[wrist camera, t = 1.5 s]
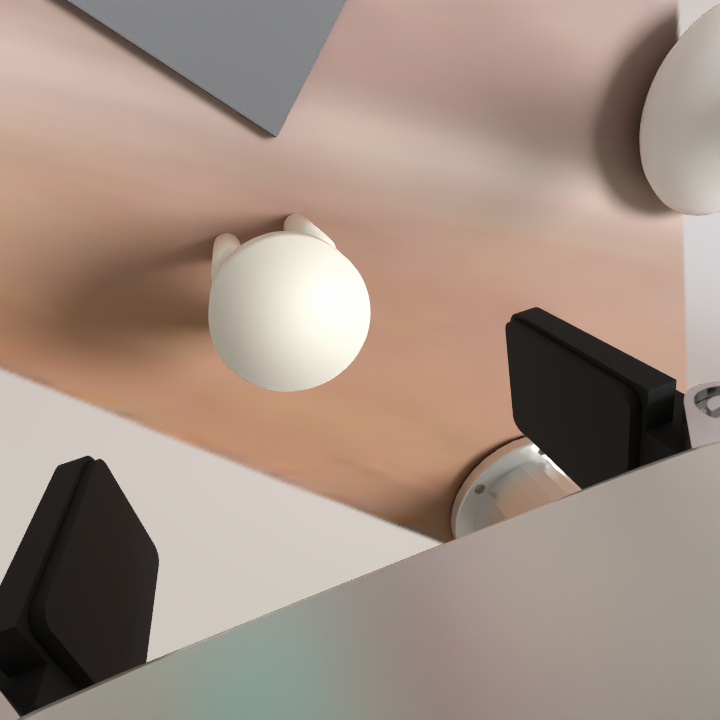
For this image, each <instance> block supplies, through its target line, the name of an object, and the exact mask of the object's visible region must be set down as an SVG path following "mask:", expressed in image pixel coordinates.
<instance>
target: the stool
mask: <svg viewBox="0 0 720 720" xmlns="http://www.w3.org/2000/svg"><path fill="white" fill-rule="evenodd" d="M283 229H284V231H277V232H271V233H266V234H263V235H260V236H257V237H255V238H253V239H251V240H249V241H247V242H245V243H244V244H242V245H241V244H240V241H239V239H238V238H237V237H236V236H235V235H233V234H230V233H223V234H220V235H219V236H217V237H216V239H215V241H214V245H213V257H212V269H211V282H212V287H211V291H210V299H209V310H208V324H209V330H210V335H211V338H212V341H213V344H214V346H215V348H216V350H217V352H218V354H219V355H220V357H221V358H222V360H223V361H224V362H225V364H226V365H227V366H228V367H229V368H230V369H231V370H232V371H233V372H234V373H236V374H237V375H238V376H239V377H241V378H242V379H244V380H245V381H247V382H249V383H251V384H253V385H255V386H258V387H261V388H264V389H269V390H273V391H283V392H289V391H300V390H306V389H310V388H313V387H316V386H319V385H321V384H324V383H325V382H327V381H329V380H331V379H333V378H334V377H336V376H337V375H338V374H340V373H341V372H342V371H343V370H344V369H346V368H347V367H348V366H349V364H350V363H351V362H352V361H353V360H354V359H355V357H356V356H357V354H358V353H359V351H360V349H361V347H362V346H363V344H364V341H365V339H366V336H367V333H368V329H369V324H370V301H369V296H368V292H367V289H366V286H365V284H364V282H363V279H362V277H361V276H360V274H359V273H358V271H357V269H356V268H355V267H354V266H353V265H352V263H351V262H350V261H349V260H348V259H347V258H346V257H345V256H343V255H342V254H341V253H340V252H339V251H338V250H337V249H336V247H335V245H334V243H333V241H332V240H331V239H330V238H329V237H327V236H326V235H325V234H324V233H323V232H322V231H320V230H319V229H318V228H317V227H316V226H315V225H314V224H312V223H311V222H310V221H309V220H308V219H307V218H305V217H304V216H303V215H301V214H291V215H289V216H288V217H287V218H286V219H285V221H284V224H283Z"/></svg>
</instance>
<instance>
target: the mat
mask: <svg viewBox="0 0 720 720" xmlns="http://www.w3.org/2000/svg"><path fill="white" fill-rule="evenodd" d="M67 1H68V2H70V3H71V4H73V5H74V6H76V7H77V8H79V9H80V10H82V11H83V12H85V13H87V14H88V15H90V16H91V17H93V18H94V19H96V20H97V21H99V22H100V23H102V24H103V25H105V26H106V27H108V28H109V29H111V30H113V31H114V32H116V33H117V34H119V35H120V36H122V37H123V38H125V39H126V40H128V41H129V42H131V43H132V44H134V45H135V46H137V47H139V48H140V49H142V50H143V51H145V52H146V53H148V54H149V55H151V56H152V57H154V58H155V59H157V60H158V61H160V62H161V63H163V64H165V65H166V66H168V67H169V68H171V69H172V70H174V71H175V72H177V73H178V74H180V75H181V76H183V77H184V78H186V79H187V80H189V81H191V82H192V83H194V84H195V85H197V86H198V87H200V88H201V89H203V90H204V91H206V92H207V93H209V94H210V95H212V96H213V97H215V98H217V99H218V100H220V101H221V102H223V103H224V104H226V105H227V106H229V107H230V108H232V109H233V110H235V111H236V112H238V113H239V114H241V115H243V116H244V117H246V118H247V119H249V120H250V121H252V122H253V123H255V124H256V125H258V126H259V127H261V128H262V129H264V130H265V131H267V132H269V133H270V134H272V135H273V136H275V137H277V136H278V134H279V132H280V130H281V128H282V126H283V124H284V122H285V120H286V118H287V116H288V114H289V112H290V110H291V108H292V106H293V104H294V102H295V100H296V98H297V96H298V94H299V92H300V90H301V88H302V87H303V85H304V83H305V81H306V79H307V77H308V75H309V73H310V71H311V69H312V67H313V65H314V63H315V61H316V59H317V57H318V55H319V53H320V51H321V49H322V47H323V45H324V43H325V41H326V39H327V37H328V35H329V33H330V31H331V29H332V27H333V25H334V23H335V21H336V20H337V18H338V16H339V14H340V12H341V10H342V8H343V6H344V4H345V2H346V0H67Z"/></svg>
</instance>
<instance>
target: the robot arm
mask: <svg viewBox="0 0 720 720" xmlns="http://www.w3.org/2000/svg"><path fill="white" fill-rule="evenodd" d="M506 341H507V353H508V364H509V375H510V387H511V398H512V409H513V418H514V421H515V423H516V425H517V427H518V429H519V430H520V431H521V432H522V433H523V434H524V435H525V436H526V437H524V438H521V439H519V440H516V441H513V442H511V443H509V444H507V445H505V446H503V447H501V448H499V449H498V450H496V451H495V452H494V453H492V454H491V455H489V456H488V457H487V458H485V459H484V460H483V461H482V462H481V463H480V464H479V465H478V466H477V467H476V468H475V469H474V470H473V471H472V472H471V474H470V475H469V476H468V478H467V479H466V480H465V481H464V483H463V485H462V487H461V488H460V490H459V492H458V494H457V496H456V499H455V502H454V505H453V508H452V515H451V527H452V533H453V536H454V538H455V539H454V540H452V541H449V542H447V543H444V544H442V545H439V546H437V547H434V548H432V549H429V550H426V551H424V552H421V553H419V554H416V555H414V556H411V557H409V558H407V559H404V560H401V561H399V562H396V563H394V564H391V565H389V566H386V567H384V568H381V569H378V570H376V571H373V572H371V573H369V574H366V575H364V576H361V577H359V578H356V579H353V580H351V581H348V582H346V583H343V584H341V585H338V586H336V587H333V588H331V589H328V590H326V591H323V592H321V593H318V594H316V595H313V596H311V597H308V598H306V599H303V600H301V601H298V602H296V603H293V604H291V605H288V606H286V607H283V608H281V609H278V610H276V611H274V612H271V613H269V614H266V615H264V616H261V617H259V618H256V619H254V620H251V621H249V622H246V623H244V624H241V625H239V626H236V627H234V628H231V629H229V630H227V631H224V632H221V633H219V634H217V635H214V636H211V637H209V638H207V639H204V640H201V641H199V642H197V643H194V644H192V645H189V646H187V647H185V648H182V649H179V650H177V651H174V652H172V653H169V654H167V655H164V656H162V657H159V658H157V659H154V660H152V661H150V662H147V663H146V659H147V652H148V644H149V636H150V628H151V620H152V613H153V605H154V597H155V590H156V582H157V574H158V566H159V558H158V553H157V550H156V547H155V545H154V543H153V542H152V540H151V538H150V537H149V535H148V533H147V532H146V530H145V529H144V527H143V525H142V523H141V522H140V520H139V518H138V517H137V515H136V513H135V512H134V510H133V508H132V507H131V505H130V503H129V502H128V500H127V498H126V497H125V495H124V493H123V492H122V490H121V488H120V487H119V485H118V483H117V481H116V480H115V478H114V477H113V475H112V473H111V471H110V470H109V468H108V466H107V465H106V463H105V462H104V461H103V460H101V459H98V460H94V459H93V458H92V457H90V456H86V457H82V458H80V459H76V460H74V461H70V462H67V463H64V464H61V465H59V466H58V467H57V468H56V470H55V472H54V474H53V476H52V478H51V480H50V482H49V484H48V486H47V489H46V491H45V493H44V495H43V497H42V499H41V501H40V503H39V505H38V507H37V510H36V512H35V514H34V516H33V518H32V520H31V522H30V524H29V526H28V528H27V531H26V533H25V535H24V537H23V539H22V541H21V543H20V545H19V547H18V549H17V552H16V554H15V556H14V558H13V560H12V562H11V564H10V566H9V568H8V570H7V573H6V575H5V577H4V579H3V581H2V583H1V585H0V720H720V382H710V383H704V384H699V385H697V386H695V387H693V388H691V389H689V390H688V391H687V393H686V394H683V393H681V392H679V391H677V390H676V379H674V378H672V377H670V376H668V375H666V374H664V373H662V372H660V371H658V370H657V369H655V368H653V367H651V366H649V365H647V364H645V363H643V362H641V361H639V360H637V359H636V358H634V357H632V356H630V355H628V354H626V353H624V352H622V351H620V350H618V349H617V348H615V347H613V346H611V345H609V344H607V343H605V342H603V341H601V340H599V339H598V338H596V337H594V336H592V335H590V334H588V333H586V332H584V331H582V330H580V329H578V328H577V327H575V326H573V325H571V324H569V323H567V322H565V321H563V320H561V319H559V318H558V317H556V316H554V315H552V314H550V313H548V312H546V311H544V310H542V309H540V308H538V307H535V308H531V309H528V310H525V311H522V312H519V313H516V314H513V316H512V317H511V321H510V322H508V323H507V324H506Z"/></svg>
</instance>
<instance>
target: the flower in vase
mask: <svg viewBox="0 0 720 720" xmlns="http://www.w3.org/2000/svg"><path fill="white" fill-rule="evenodd" d="M639 142H640V156H641V162H642V166H643V170H644V173H645V175H646V178H647V180H648V182H649V184H650V185H651V187H652V189H653V190H654V192H655V193H656V195H657V196H658V197H659V199H660V200H661V201H662V202H663V203H664V204H666V205H667V206H668V207H669V208H671V209H673V210H675V211H677V212H679V213H683V214H686V215H696V216H698V215H708V214H712V213H716V212H720V4H719V5H717V6H715V7H713V8H712V9H711V10H709V11H708V12H706V13H705V14H704V15H702V16H701V17H700V18H699V19H698V20H697V21H696V22H694V23H693V24H692V25H691V26H690V27H689V29H688V30H687V31H686V32H685V33H684V34H683V35H682V36H681V38H680V39H679V40H678V41H677V43H676V44H675V45H674V46H673V48H672V49H671V50H670V52H669V53H668V55H667V56H666V57H665V59H664V61H663V62H662V64H661V66H660V67H659V69H658V71H657V73H656V75H655V77H654V79H653V82H652V84H651V87H650V89H649V92H648V95H647V98H646V101H645V105H644V108H643V113H642V118H641V123H640V136H639Z"/></svg>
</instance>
